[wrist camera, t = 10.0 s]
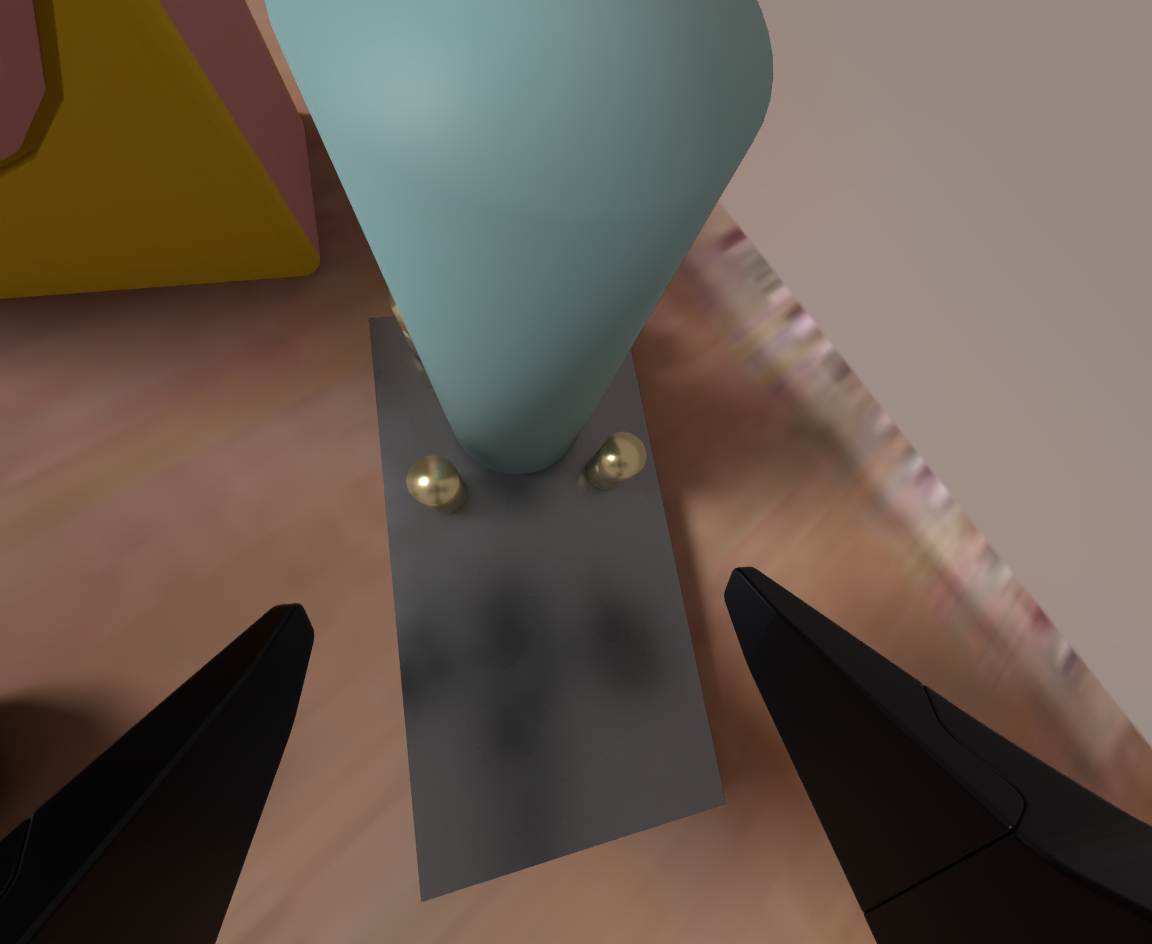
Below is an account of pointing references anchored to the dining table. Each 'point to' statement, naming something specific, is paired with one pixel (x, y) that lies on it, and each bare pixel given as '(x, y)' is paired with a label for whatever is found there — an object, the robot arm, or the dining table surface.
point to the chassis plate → (535, 636)
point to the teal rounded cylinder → (528, 180)
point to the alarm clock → (146, 149)
